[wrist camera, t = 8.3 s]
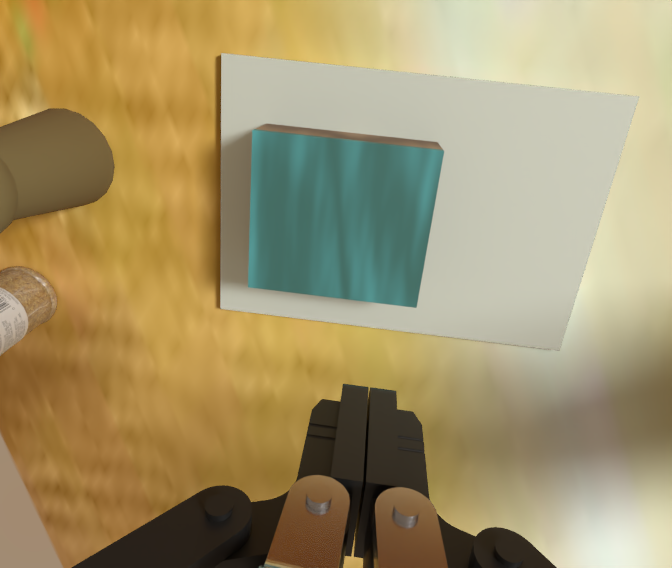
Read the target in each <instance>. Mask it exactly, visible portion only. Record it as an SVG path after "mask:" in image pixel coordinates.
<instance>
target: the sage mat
mask: <svg viewBox="0 0 672 568" xmlns="http://www.w3.org/2000/svg"><path fill="white" fill-rule="evenodd" d="M638 99H639V96H630V95H620V94H610V93H601V92H591V91H581V90H572V89H562V88H553V87H543V86H533V85H524V84H514V83H504V82H495V81H485V80H475V79H466V78H456V77H446V76H437V75H427V74H418V73H408V72H398V71H389V70H379V69H369V68H360V67H350V66H340V65H331V64H321V63H311V62H302V61H292V60H282V59H273V58H263V57H254V56H244V55H234V54H225V53H221V281H220V309H226V310H234V311H243V312H251V313H259V314H267V315H275V316H283V317H291V318H299V319H307V320H315V321H323V322H331V323H339V324H347V325H355V326H363V327H371V328H380V329H388V330H396V331H404V332H412V333H420V334H428V335H436V336H444V337H452V338H460V339H468V340H476V341H484V342H492V343H500V344H508V345H517V346H525V347H533V348H541V349H549V350H557V351H559V350H560V347H561V344H562V340H563V337H564V334H565V331H566V328H567V325H568V321H569V318H570V315H571V312H572V309H573V306H574V302H575V299H576V296H577V293H578V290H579V286H580V283H581V280H582V277H583V274H584V271H585V267H586V264H587V261H588V258H589V255H590V252H591V248H592V245H593V242H594V239H595V236H596V232H597V229H598V226H599V223H600V220H601V217H602V213H603V210H604V207H605V204H606V201H607V198H608V194H609V191H610V188H611V185H612V182H613V178H614V175H615V172H616V169H617V166H618V163H619V159H620V156H621V153H622V150H623V147H624V144H625V140H626V137H627V134H628V131H629V128H630V125H631V121H632V118H633V115H634V112H635V109H636V105H637V102H638ZM266 123H267V124H276V125H285V126H295V127H304V128H313V129H322V130H331V131H341V132H350V133H359V134H368V135H377V136H386V137H396V138H405V139H414V140H423V141H432V142H438V143H439V145H440V146H441V147H442V149H443V150H444V156H443V161H442V167H441V173H440V178H439V184H438V190H437V195H436V201H435V207H434V212H433V218H432V224H431V229H430V235H429V241H428V246H427V252H426V257H425V263H424V269H423V274H422V280H421V286H420V291H419V297H418V303H417V308H413V307H405V306H397V305H389V304H380V303H372V302H364V301H356V300H348V299H340V298H331V297H323V296H315V295H307V294H299V293H290V292H282V291H274V290H266V289H258V288H249V287H248V267H249V230H250V194H251V157H252V130H254V129H256V128H258V127H260V126H262V125H264V124H266Z"/></svg>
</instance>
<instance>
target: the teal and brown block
mask: <svg viewBox="0 0 672 568" xmlns="http://www.w3.org/2000/svg"><path fill="white" fill-rule="evenodd" d="M443 156H444V150H443V149H442V147H441V146H440V145H439V143H438V142H432V141H423V140H414V139H405V138H396V137H386V136H377V135H368V134H359V133H350V132H341V131H331V130H322V129H313V128H304V127H295V126H285V125H276V124H267V123H266V124H264V125H262V126H260V127H258V128H256V129H254V130H252V157H251V194H250V230H249V267H248V287H249V288H258V289H266V290H274V291H282V292H290V293H299V294H307V295H315V296H323V297H331V298H340V299H348V300H356V301H364V302H372V303H380V304H389V305H397V306H405V307H413V308H417V303H418V297H419V291H420V286H421V280H422V274H423V269H424V263H425V257H426V252H427V246H428V241H429V235H430V229H431V224H432V218H433V212H434V207H435V201H436V195H437V190H438V184H439V178H440V173H441V167H442V161H443Z"/></svg>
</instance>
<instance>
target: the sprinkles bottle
mask: <svg viewBox="0 0 672 568" xmlns="http://www.w3.org/2000/svg"><path fill="white" fill-rule="evenodd" d="M56 307H57V297H56V294H55V292H54V290H53V287H52V286H51V285H50V283H49V282H48V280H47V279H46V278H45V277H43V276H42V275H41V274H39V273H37V272H35V271H34V270H32V269H29V268H25V267H10V268H7V269H5V270H3V271H1V272H0V355H1V354H3V353H4V352H5V351H7V350H8V349H9V348H11V347H12V346H13V345H15V344H16V343H17V342H19V341H20V340H21V339H22V338H23V337H24V336H25V335H26V334H28V333H29V332H30V331H32V330H33V329H34V328H36V327H37V326H38V325H40V324H42V323H44V322H46V321H48V320H49V319H51V317H52V316H53V314H54V313H55V310H56Z"/></svg>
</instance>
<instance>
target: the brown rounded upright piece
mask: <svg viewBox="0 0 672 568" xmlns="http://www.w3.org/2000/svg"><path fill="white" fill-rule="evenodd" d="M113 173H114V161H113V156H112V151H111V149H110V147H109V145H108V143H107V140H106V138H105V136H104V135H103V134H102V133H101V132H100V130H99V129H98V128H97V127H96V126H95V125H94V123H92V122H91V121H89V120H88V119H87V118H85V117H84V116H82V115H81V114H79V113H76V112H73V111H70V110H67V109H48V110H45V111H42V112H40V113H37V114H34V115H31V116H29V117H26V118H23V119H21V120H18V121H15V122H13V123H10V124H7V125H5V126H2V127H0V233H1V232H2V231H3V230H4V229H6V228H7V227H8V226H9V225H10V224H11V223H12V221H13V220H15V219H20V218H25V217H30V216H35V215H39V214H44V213H49V212H54V211H58V210H63V209H68V208H73V207H78V206H82V205H86V204H89V203H92V202H95V201H97V200H98V199H99V198H101V197H102V196H103V195H104V194H105V193H106V192H107V190H108V188H109V187H110V185H111V183H112V181H113Z"/></svg>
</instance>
